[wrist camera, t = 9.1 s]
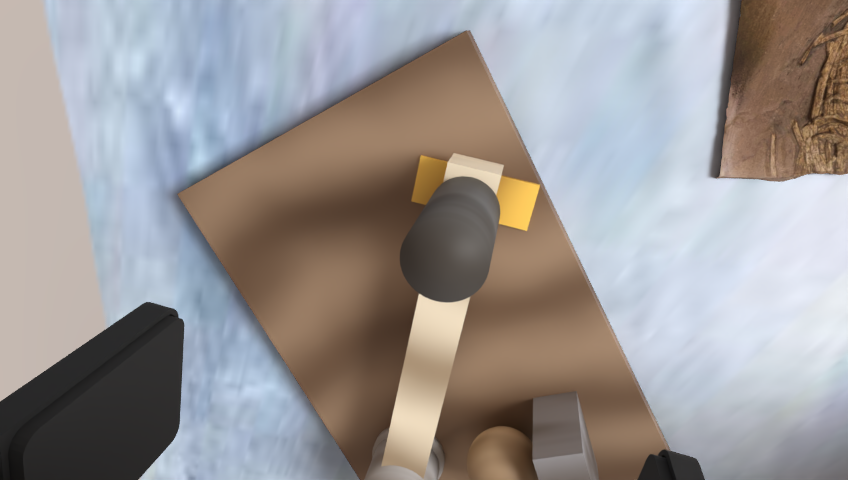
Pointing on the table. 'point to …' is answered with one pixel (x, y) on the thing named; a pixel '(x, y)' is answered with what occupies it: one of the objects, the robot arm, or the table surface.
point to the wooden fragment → (788, 91)
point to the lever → (438, 308)
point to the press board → (396, 300)
